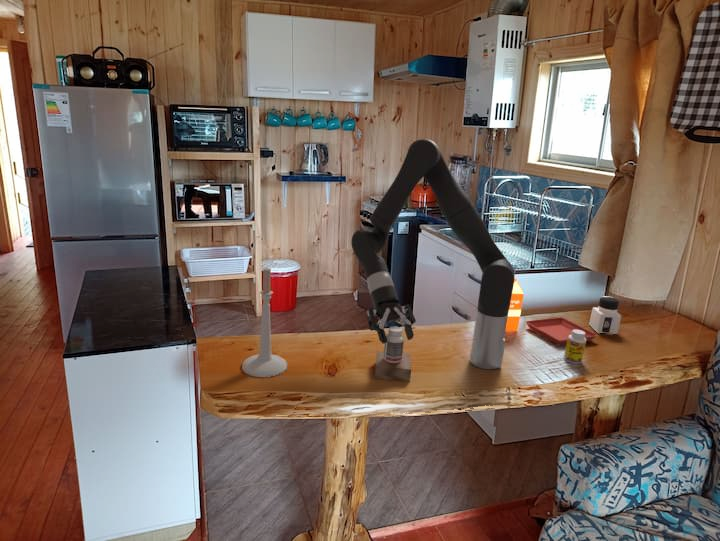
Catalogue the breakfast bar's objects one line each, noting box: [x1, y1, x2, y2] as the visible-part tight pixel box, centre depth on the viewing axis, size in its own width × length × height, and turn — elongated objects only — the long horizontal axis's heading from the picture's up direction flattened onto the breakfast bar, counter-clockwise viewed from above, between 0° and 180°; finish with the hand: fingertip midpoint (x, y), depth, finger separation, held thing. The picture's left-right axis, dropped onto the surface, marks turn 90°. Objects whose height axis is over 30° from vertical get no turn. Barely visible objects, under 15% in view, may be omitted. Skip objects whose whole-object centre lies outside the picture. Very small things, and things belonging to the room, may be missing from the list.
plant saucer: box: [525, 316, 598, 346], centre depth 192 cm, size 18×18×3 cm
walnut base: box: [374, 350, 412, 383], centre depth 155 cm, size 10×10×4 cm
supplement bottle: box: [563, 329, 587, 365], centre depth 171 cm, size 6×6×10 cm
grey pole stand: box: [241, 267, 288, 378], centre depth 148 cm, size 13×13×30 cm
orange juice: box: [505, 277, 525, 332], centre depth 193 cm, size 8×9×20 cm
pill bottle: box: [383, 325, 405, 363], centre depth 153 cm, size 5×5×10 cm
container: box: [588, 295, 622, 335], centre depth 198 cm, size 8×8×13 cm
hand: (398, 340), depth 151 cm, fingers open, 8 cm apart
